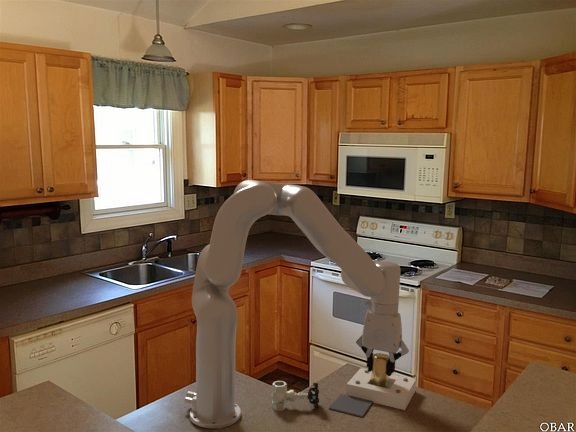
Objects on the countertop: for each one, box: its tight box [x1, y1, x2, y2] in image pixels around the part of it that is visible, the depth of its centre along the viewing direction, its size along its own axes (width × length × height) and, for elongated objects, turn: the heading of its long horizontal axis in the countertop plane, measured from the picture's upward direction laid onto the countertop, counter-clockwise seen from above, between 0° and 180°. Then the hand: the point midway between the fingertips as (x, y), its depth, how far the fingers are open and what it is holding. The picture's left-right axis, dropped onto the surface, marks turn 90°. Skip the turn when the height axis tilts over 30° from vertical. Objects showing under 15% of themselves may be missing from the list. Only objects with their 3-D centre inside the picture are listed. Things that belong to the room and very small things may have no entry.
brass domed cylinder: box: [371, 352, 390, 388], centre depth 142 cm, size 5×5×9 cm
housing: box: [345, 367, 417, 411], centre depth 142 cm, size 16×12×4 cm
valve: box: [270, 380, 320, 412], centre depth 133 cm, size 7×7×12 cm
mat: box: [328, 393, 374, 418], centre depth 135 cm, size 9×9×1 cm
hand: (380, 371), depth 142 cm, fingers closed on brass domed cylinder, 4 cm apart
